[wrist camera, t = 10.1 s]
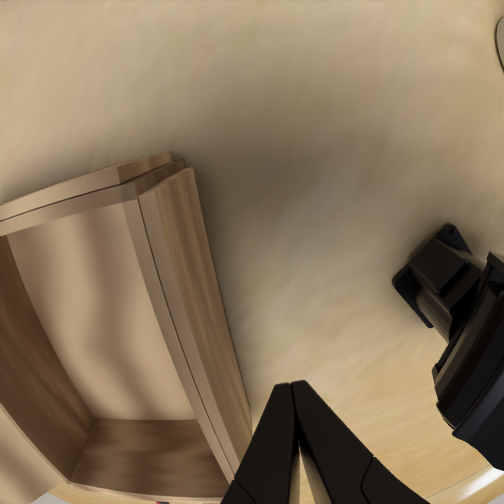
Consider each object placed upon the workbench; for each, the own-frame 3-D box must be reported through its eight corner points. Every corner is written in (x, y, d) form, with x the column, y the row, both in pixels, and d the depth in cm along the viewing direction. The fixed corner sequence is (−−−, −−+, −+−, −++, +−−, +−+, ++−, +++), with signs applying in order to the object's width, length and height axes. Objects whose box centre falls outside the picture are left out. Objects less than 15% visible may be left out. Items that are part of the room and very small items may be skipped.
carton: (192, 146, 18) (147, 158, 10) (253, 418, 26) (256, 501, 18) (-2, 205, 19) (-82, 244, 10) (97, 421, 27) (71, 487, 19)
